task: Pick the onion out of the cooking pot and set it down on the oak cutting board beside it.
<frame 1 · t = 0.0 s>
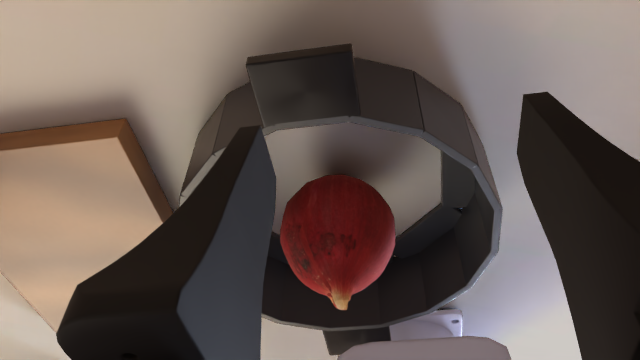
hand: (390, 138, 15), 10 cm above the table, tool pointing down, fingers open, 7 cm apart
onion: (337, 180, 30), resting in cooking pot
cooking pot: (337, 183, 30), on the table
cutting board: (100, 252, 35), on the table
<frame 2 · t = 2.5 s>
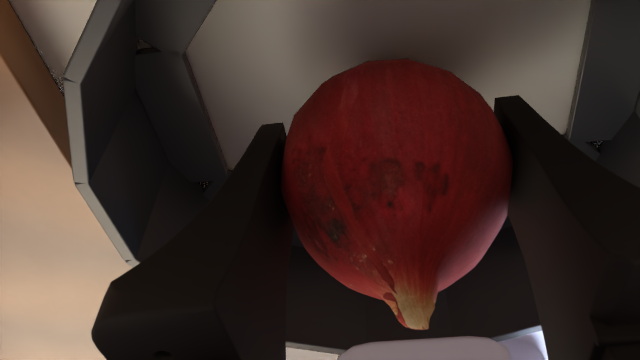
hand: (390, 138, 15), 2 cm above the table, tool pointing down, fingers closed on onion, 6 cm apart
onion: (384, 90, 17), resting in cooking pot, touching gripper
cooking pot: (385, 94, 17), on the table
when the fingers open (4 cm above the table, at t = 7.7 s): onion stays where it is, resting on cutting board.
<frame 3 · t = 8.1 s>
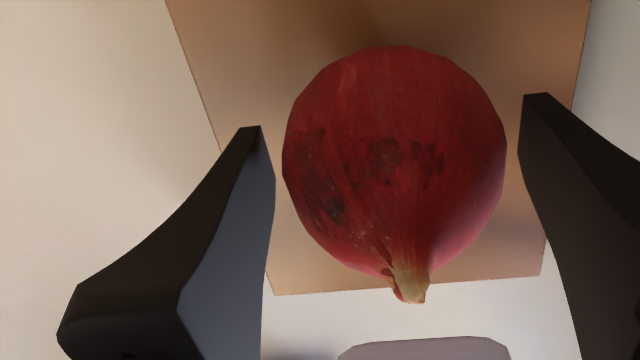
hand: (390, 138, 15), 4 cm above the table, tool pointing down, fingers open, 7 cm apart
onion: (382, 78, 17), point 1 cm above the table, touching cutting board
cutting board: (383, 83, 19), on the table
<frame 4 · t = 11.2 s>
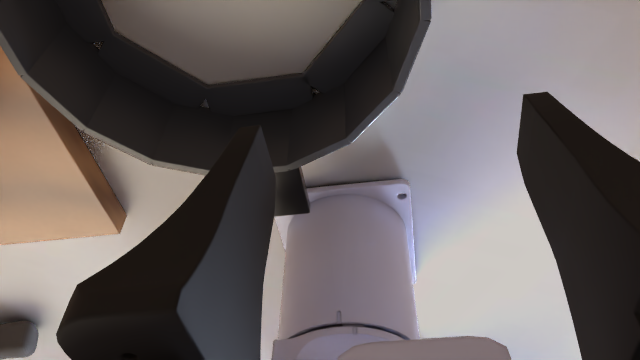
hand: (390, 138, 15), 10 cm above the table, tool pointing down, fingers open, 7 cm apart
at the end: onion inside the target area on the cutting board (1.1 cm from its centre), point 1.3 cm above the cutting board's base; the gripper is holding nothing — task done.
